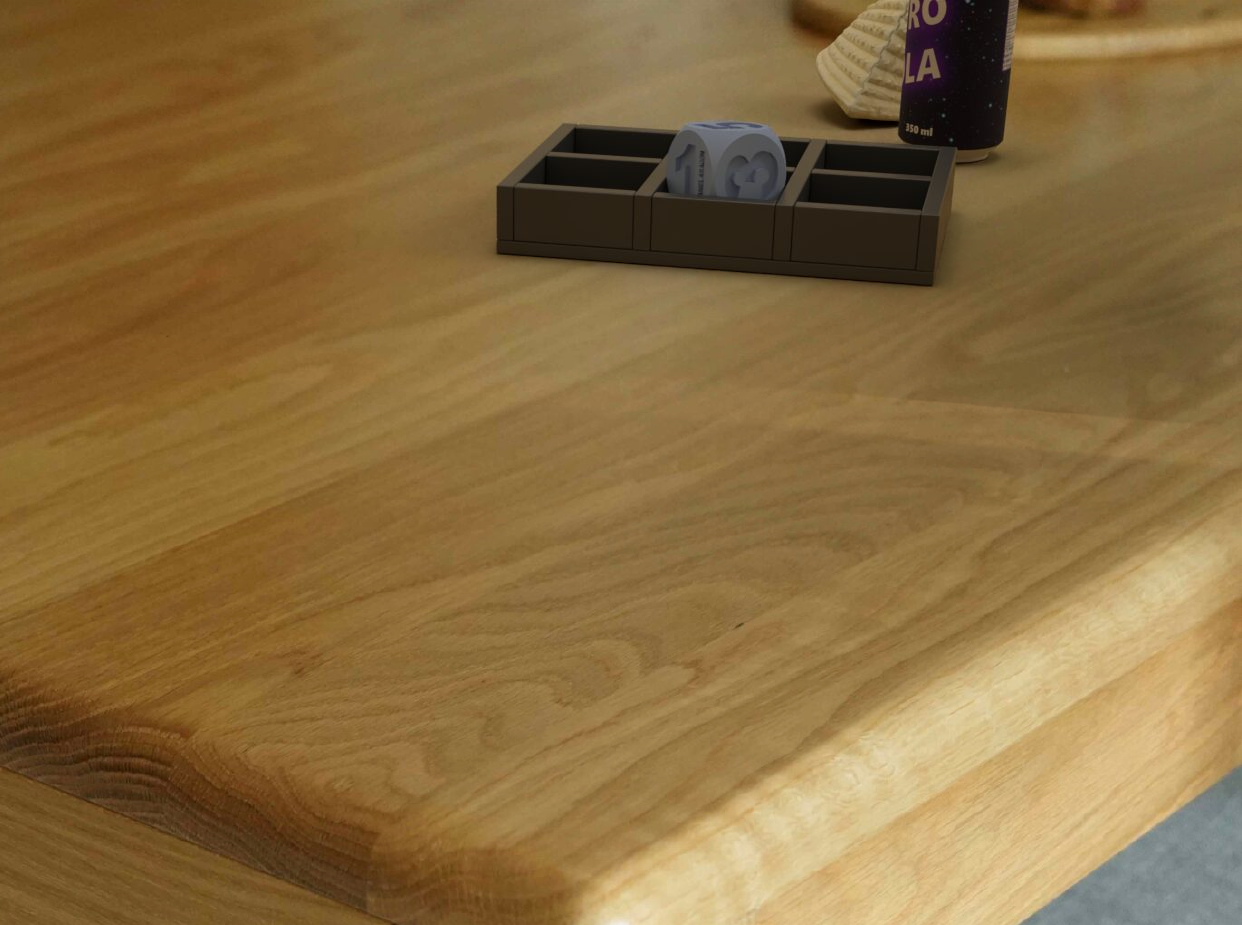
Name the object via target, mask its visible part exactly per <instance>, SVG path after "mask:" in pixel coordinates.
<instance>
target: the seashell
mask: <svg viewBox="0 0 1242 925" xmlns="http://www.w3.org/2000/svg"><path fill="white" fill-rule="evenodd" d="M908 8H909V0H877V1H876V2H875V3H871V4H869V5H868V6H867V7H866V10H865V11H863V12H862V13H860V14H858V16H857V18H856V19H855V20H853V21H852V22H851V23H850V24H849V26H847V27H846V28H845V29H843V31H842V32H841V34H840V35H838V36H837V37H836V39H835V40H834V41H833V42H831V43H830V45H828V46H827V47H825V48H824V49H822V50H821V51H820V52H819V53H818V54H817V56H816V60H815V67H816V72H817V75H818V78H819V79H820V82H821V84H822V85H823V86H824V88H825V90H826V91H827V92H828V94H829V95H830V96H831V98H832V99H833V100H834V102H836V104H838V106H839V108H841V110H842V111H843V112H844V113H845V115H846V116H848V117H849V118H850V119H863V120H865V119H866V120H873V121H887V122H888V121H889V122H890V121H891V122H899V114H900V102H901V90H902V79H903V67H904V55H905V43H906V31H907V20H908Z"/></svg>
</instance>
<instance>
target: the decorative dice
mask: <svg viewBox="0 0 1242 925" xmlns="http://www.w3.org/2000/svg"><path fill="white" fill-rule="evenodd" d="M679 130H680V131H679V132H678V134H677V135H676V137H675V138H674V140H673V142H672V144H671V146H670V149H669V152H668V157H667V164H666V178H667V185H668V190H669V193H676V194H691V195H706V196H720V197H735V198H750V199H765V200H776V201H777V202H778V200H779V198H780V196H781V195H782V193H783V190H784V186H785V180H786V160H785V154H784V150H783V147H782V144H781V142H780V140H779V138H778V137H777V136H778V135H777V133H776V132H775V131H774V129H772V127H771V126H770V125H768V124H764V123H759V122H752V121H741V120H740V121H739V120H700V121H690V122H687V123H686V124H684V125H683V126H682V127H681V129H679Z"/></svg>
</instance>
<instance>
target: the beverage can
mask: <svg viewBox="0 0 1242 925" xmlns="http://www.w3.org/2000/svg"><path fill="white" fill-rule="evenodd" d="M1018 9H1019V0H909V8H908V20H907V31H906V43H905V55H904V67H903V79H902V90H901V102H900V114H899V121H898V127H897V137H899V139H900V140H901V141H902V142H903V144H909V145H926V146H939V147H940V148H941V147H942V146H943V147H956V148H957V155H956V163H972V162H979V161H982V160H985V159H987V158H988V156H989V153H991V152H992V151H993V150H994V149H996V148H997V147H998V146H999V145H1000V144H1001V143H1002V142H1003V141H1004V138H1005V130H1006V120H1007V110H1008V100H1009V92H1010V84H1011V75H1012V74H1011V73H1012V64H1013V55H1014V54H1013V53H1014V46H1015V38H1016V37H1015V36H1016V27H1017V20H1018V11H1019V10H1018Z"/></svg>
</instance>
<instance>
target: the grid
mask: <svg viewBox="0 0 1242 925" xmlns="http://www.w3.org/2000/svg"><path fill="white" fill-rule="evenodd" d="M680 130H681V129H666V128H665V129H663V128H647V127H632V126H616V125H614V126H613V125H600V124H583V123H579V124H577V123H570V122H563V123H561V124H560V125H559V126H558V127H557V128H556V129H555V130H554V131H553V132H552V133H551V134H550V135H549V136H548V137H547V138H545V139H544V140H543V141H542V142H541V143H540V144H539V145H538V146H537V147H536V148H535V149H534V150H533V151H531V153H530V154H528V155H527V157H525V158H524V160H522V161H520V163H519V164H518V165H517V166H516V167H514V168H513V169H512V170H511V171H510V172H509V173H508V174H507V175H506V176H505V177H504V178H503V179H502V180H501V181H500V182H499V183H498V184H497V185H496V187H495V188H496V192H495V194H496V196H495V198H496V202H495V204H496V241H495V242H496V245H495V246H496V248H495V249H496V253H497V254H506V255H520V256H532V257H533V256H534V257H548V258H560V259H573V260H585V261H588V260H589V261H598V262H600V261H601V262H613V263H614V262H615V263H627V264H640V265H653V266H667V267H679V268H693V269H707V270H722V271H733V272H734V271H735V272H747V273H749V272H750V273H761V274H774V275H786V276H787V275H789V276H799V277H813V278H826V279H827V278H828V279H840V280H842V279H843V280H854V281H867V282H879V283H880V282H883V283H895V284H907V285H921V286H934V282H935V278H936V275H937V270H938V265H939V261H940V257H941V254H942V249H943V245H944V241H945V237H946V233H947V229H948V224H949V220H950V215H951V212H952V207H953V206H952V205H953V195H954V184H955V175H956V163H957V162H956V155H957V148H956V147H943V146H942V147H941V148H940V147H939V146H926V145H909V144H905V143H893V142H891V143H890V142H876V141H874V142H873V141H858V140H846V139H845V140H842V139H827V138H810V137H796V136H795V137H794V136H778V135H777V137H778V138H779V140H780V142H781V144H782V147H783V150H784V154H785V160H786V180H785V186H784V190H783V193H782V195H781V196H780V198H779V200H778V202H777V201H776V200H765V199H750V198H735V197H720V196H706V195H691V194H676V193H669V190H668V185H667V178H666V164H667V157H668V152H669V149H670V146H671V144H672V142H673V140H674V138H675V137H676V135H677V134H678V132H679V131H680Z"/></svg>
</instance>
